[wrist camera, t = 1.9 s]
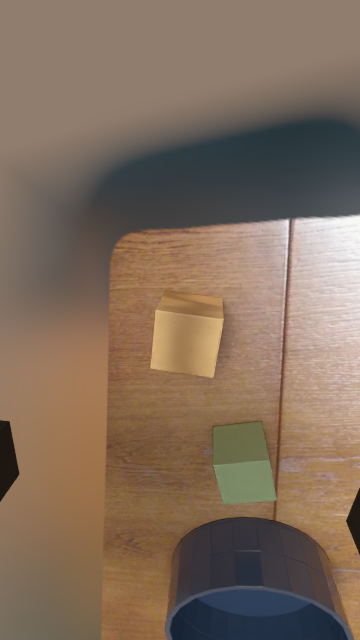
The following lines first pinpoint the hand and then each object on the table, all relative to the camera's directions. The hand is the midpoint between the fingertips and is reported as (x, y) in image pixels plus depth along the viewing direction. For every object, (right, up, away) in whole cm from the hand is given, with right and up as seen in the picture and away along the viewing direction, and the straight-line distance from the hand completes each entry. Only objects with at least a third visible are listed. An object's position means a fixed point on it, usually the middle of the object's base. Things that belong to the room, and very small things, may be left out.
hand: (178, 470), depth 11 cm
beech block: (+1, +6, +16) cm, 17 cm away
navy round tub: (+9, -27, +29) cm, 41 cm away
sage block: (+6, -7, +21) cm, 23 cm away
